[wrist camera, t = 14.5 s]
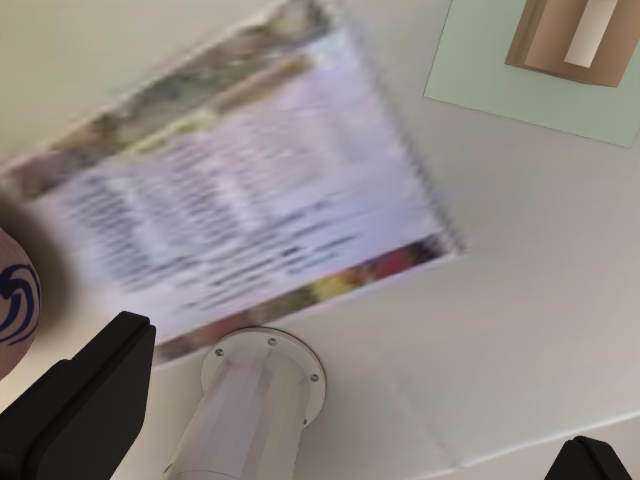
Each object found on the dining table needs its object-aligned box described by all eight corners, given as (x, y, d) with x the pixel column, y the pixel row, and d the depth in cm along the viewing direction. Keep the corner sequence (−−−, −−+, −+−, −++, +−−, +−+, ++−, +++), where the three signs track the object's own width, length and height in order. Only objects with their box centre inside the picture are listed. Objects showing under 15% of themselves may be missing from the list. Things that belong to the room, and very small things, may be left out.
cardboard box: (644, -57, 30) (694, -80, 26) (584, 84, 34) (618, 87, 29) (554, -79, 31) (588, -105, 26) (503, 63, 34) (524, 64, 29)
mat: (627, 147, 35) (630, 148, 35) (423, 96, 36) (423, 96, 35) (747, -99, 29) (751, -102, 29) (500, -158, 30) (501, -161, 29)
